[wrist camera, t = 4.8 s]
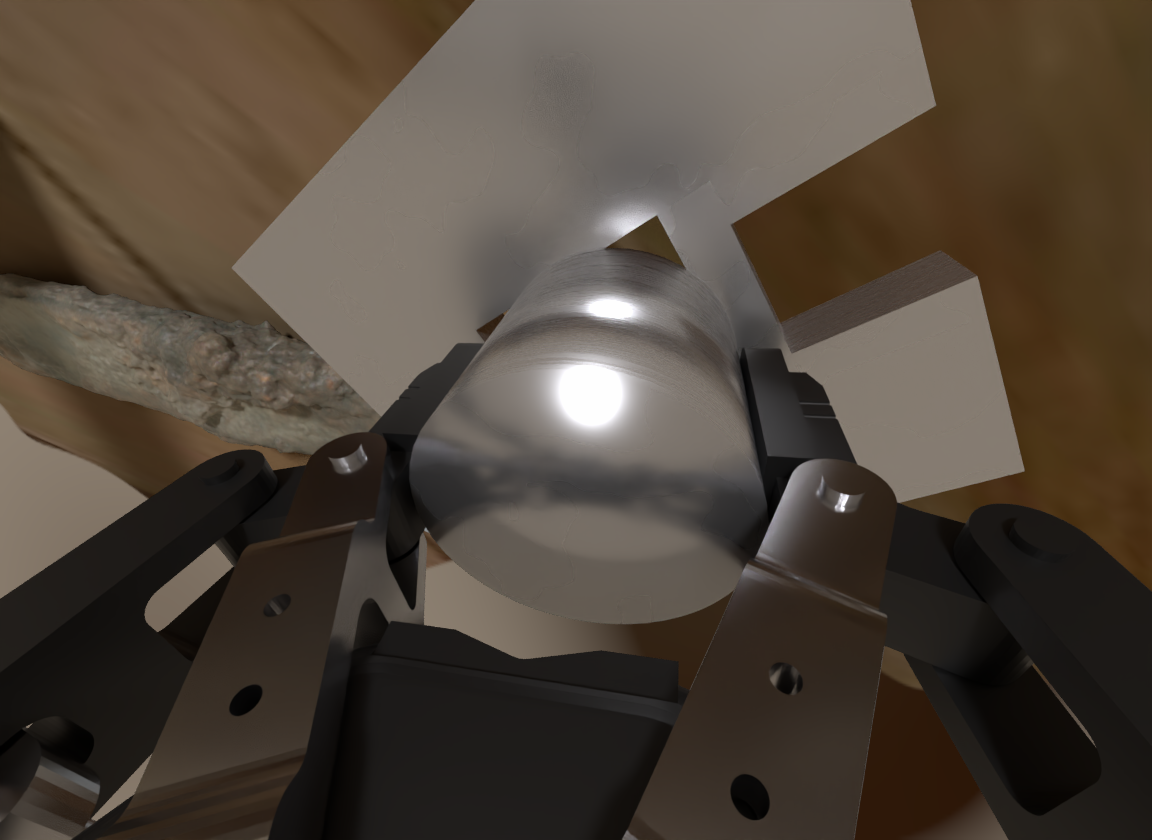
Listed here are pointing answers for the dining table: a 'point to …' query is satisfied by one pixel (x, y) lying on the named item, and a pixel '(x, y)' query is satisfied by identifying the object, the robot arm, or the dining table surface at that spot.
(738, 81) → the flange plate
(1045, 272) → the dining table surface
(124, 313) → the long grey stone
